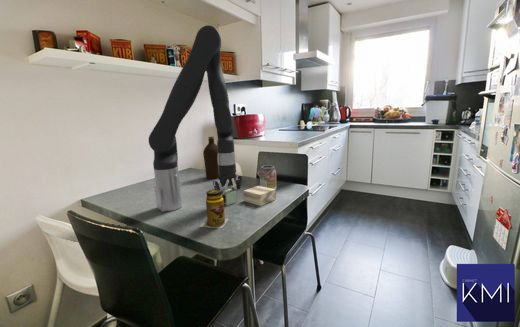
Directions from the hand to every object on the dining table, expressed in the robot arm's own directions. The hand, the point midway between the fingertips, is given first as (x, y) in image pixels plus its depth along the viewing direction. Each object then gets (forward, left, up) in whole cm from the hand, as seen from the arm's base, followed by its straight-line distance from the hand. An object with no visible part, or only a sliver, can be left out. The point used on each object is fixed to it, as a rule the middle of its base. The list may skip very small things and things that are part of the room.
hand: (229, 200), depth 108 cm
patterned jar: (+23, 0, -1) cm, 23 cm away
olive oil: (+19, +44, -1) cm, 48 cm away
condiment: (-16, -14, -1) cm, 21 cm away
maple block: (+11, -8, -1) cm, 14 cm away
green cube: (0, 0, -1) cm, 1 cm away
